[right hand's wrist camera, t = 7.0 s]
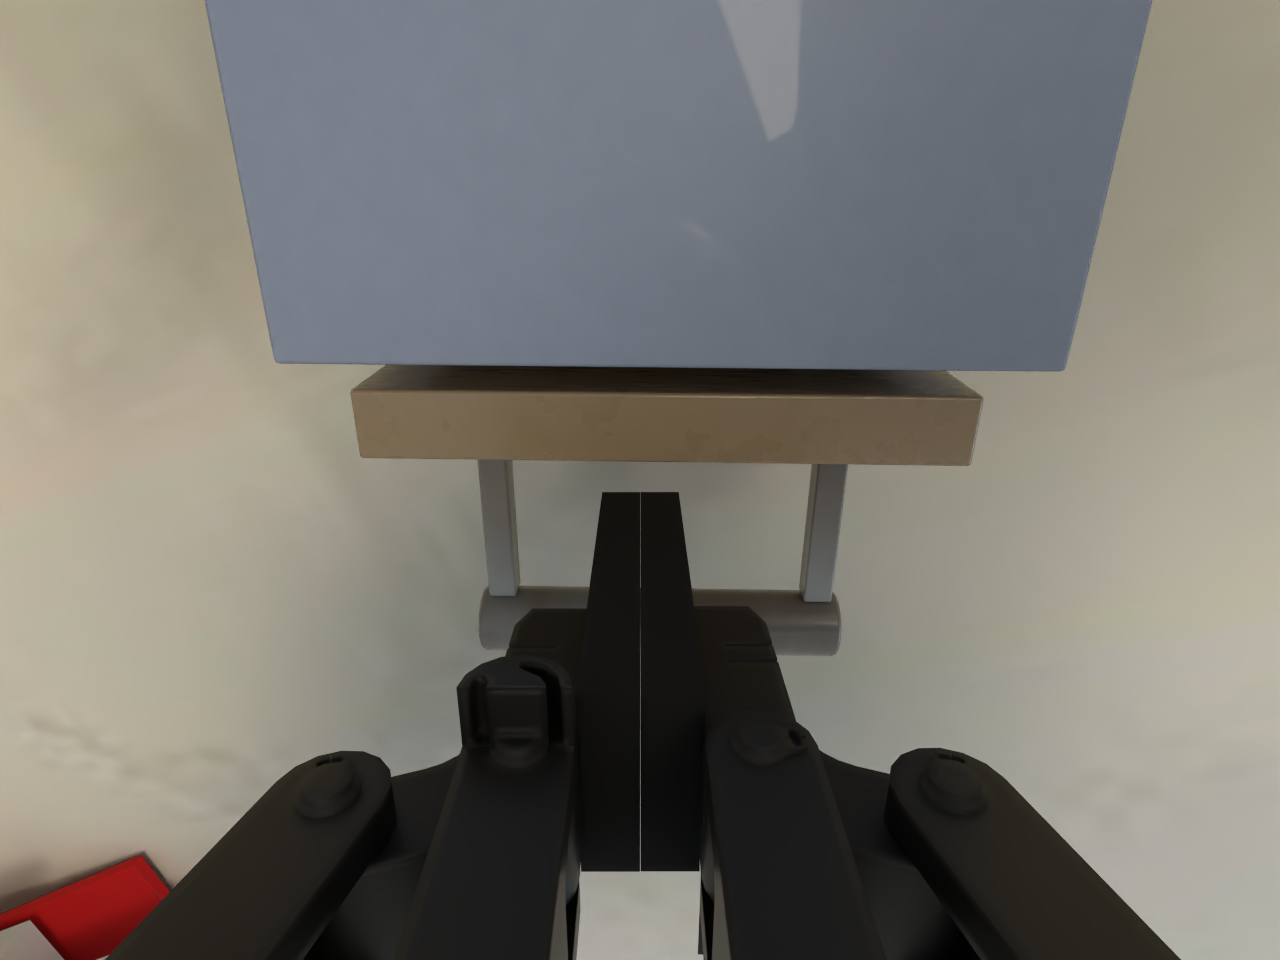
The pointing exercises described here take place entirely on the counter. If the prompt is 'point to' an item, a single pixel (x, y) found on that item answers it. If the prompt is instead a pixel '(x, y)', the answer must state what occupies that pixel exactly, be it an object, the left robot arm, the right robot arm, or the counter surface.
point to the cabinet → (676, 178)
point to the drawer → (669, 452)
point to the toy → (83, 915)
